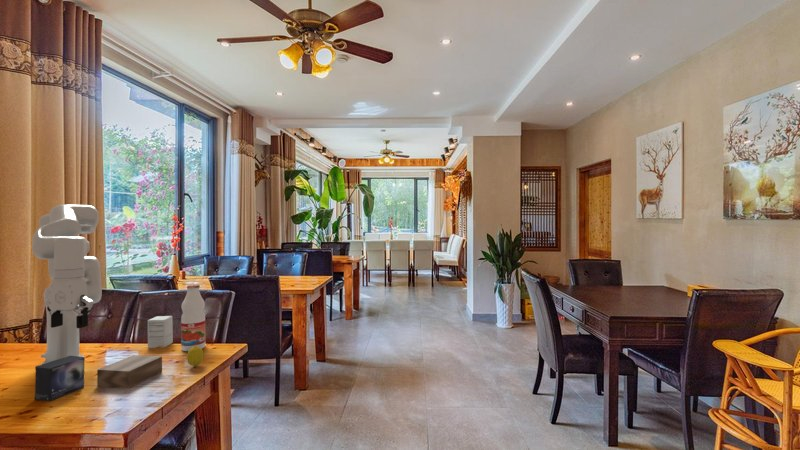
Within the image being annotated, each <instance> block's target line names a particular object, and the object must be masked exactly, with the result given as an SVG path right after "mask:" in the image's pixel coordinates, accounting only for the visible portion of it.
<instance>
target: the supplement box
mask: <svg viewBox="0 0 800 450" xmlns="http://www.w3.org/2000/svg"><path fill="white" fill-rule="evenodd" d="M173 323H174V322H173V315H164V316H163V315H159V316H154V317H153V318H150V319H147V349H157V348H156V347H165V348H166V347H167V346H169V345H171V344H172V343H174V341H173V340H174V339H173V338H174V336H173V335H174V330H173V329H174V328H173Z"/></svg>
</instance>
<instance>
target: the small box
mask: <svg viewBox="0 0 800 450" xmlns="http://www.w3.org/2000/svg"><path fill="white" fill-rule="evenodd" d="M41 364H42V363H41ZM41 364H39V365H35V366H34V367H35V374H34V375H35V376H34V377H35V379H34V380H35V382H34V383H35V384H34V398H33V399H34V401H42V402H43V401H44V402H51V401H54V400H56V399H59V398H62V397H64V396H67V395H69V394H72V393H74V392H76V391H79V390H81V389H84V388H85V356H84V357H79V356H68V357H64V358H61V359H58V360H55V361H51V362H48V363H45V364H42V365H41Z"/></svg>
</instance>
